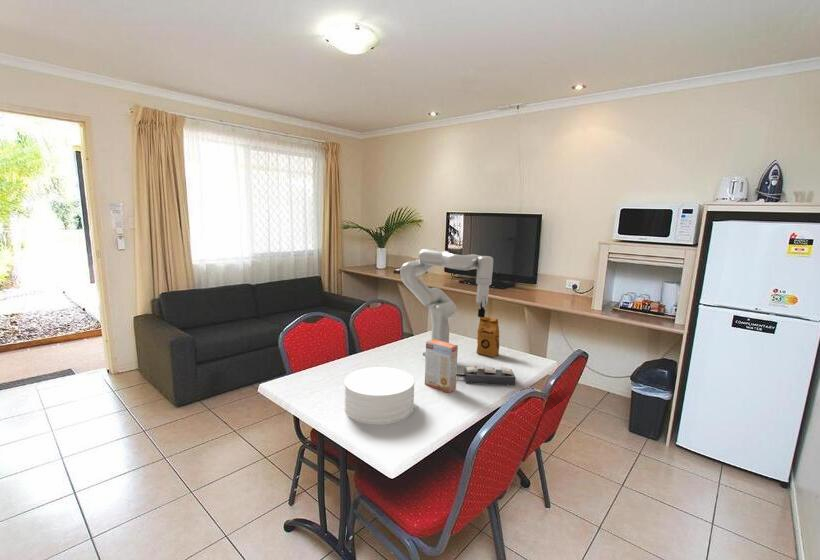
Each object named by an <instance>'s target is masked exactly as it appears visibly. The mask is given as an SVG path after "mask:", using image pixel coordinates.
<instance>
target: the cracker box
mask: <svg viewBox="0 0 820 560" xmlns="http://www.w3.org/2000/svg"><path fill="white" fill-rule="evenodd" d="M458 347H459V346H458V345H457V344H454V343H450V342H449V343H446V342H443V341H439V340H435V339H432V340H431V339H429V340H426V341H425V352H426V357H425V360H424V361H425V365H424V367H425V370H424V385H426V386H429V387H432V388H434V389H436V390H437V389H438V390H439V391H440V390H441V391H443V392H445V393H451V392H454V391H455V390H456V389H457V377H458V376H457V374H458V372H457V371H458V349H459V348H458Z"/></svg>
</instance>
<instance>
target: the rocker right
mask: <svg viewBox="0 0 820 560" xmlns="http://www.w3.org/2000/svg"><path fill="white" fill-rule="evenodd" d="M500 370H502V372H503V373H507V374H511V375H513V373H514V371H513V369H512V368H508V367H505V366H501V368H500Z"/></svg>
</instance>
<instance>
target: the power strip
mask: <svg viewBox="0 0 820 560" xmlns="http://www.w3.org/2000/svg"><path fill="white" fill-rule="evenodd" d="M495 370H496V374H495V373H489V372H485V370H484V368H478V371H475V372H468V373H467V368H466V367H464V372H463V373H457V376H456V377H463V378H464V382H465V384H473V385H475V384H476V385H493V386H513V387H516V379H517V377H516V376H515V373H514V372H513V375H511V374H507V373H503V372H502V370H501V369H495Z"/></svg>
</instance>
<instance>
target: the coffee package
mask: <svg viewBox="0 0 820 560" xmlns="http://www.w3.org/2000/svg"><path fill="white" fill-rule="evenodd" d="M499 352H500V327H499V319H498V318H495V317H494V318H493V317H489V316H485V317H479V323H478V328H477V345H476V354H479V355H484V356H486V357H490V356H491V358H496V357H497V355H498V356H499ZM495 356H496V357H495Z"/></svg>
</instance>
